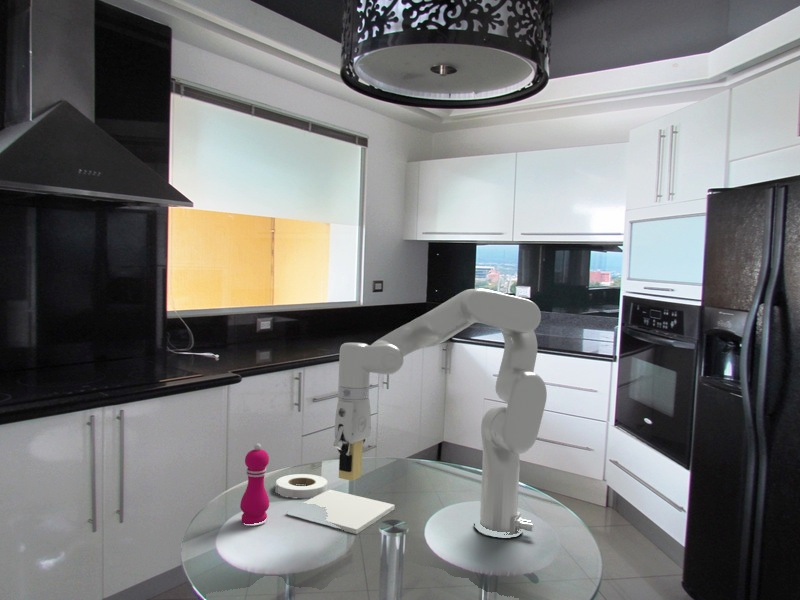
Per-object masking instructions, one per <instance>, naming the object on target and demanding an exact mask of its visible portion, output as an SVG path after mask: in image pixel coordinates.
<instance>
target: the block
mask: <svg viewBox="0 0 800 600" xmlns="http://www.w3.org/2000/svg"><path fill="white" fill-rule="evenodd" d="M344 441H346V440H345V439H344ZM344 445H345V446H346V448H347V444H344ZM362 447H363V440H361V441H359V442H356V443H353V444H352V446H351V453H350V455H352V469H351V472H346V471H341V470H339V469H338V479H343V480H345V481H351V482H353V481H355V480H357V479H359V478H361V477H362V469H363V467H362V466H363V450H362ZM338 458H340V456H339V457H338Z"/></svg>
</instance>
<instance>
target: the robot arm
mask: <svg viewBox="0 0 800 600" xmlns="http://www.w3.org/2000/svg"><path fill="white" fill-rule="evenodd" d="M541 313H542V312H541V310H540V308H539V306H538V305H537V304H536V303H535V302H533V301H532V300H530V299H528V298H523V297H519V296H515V295H510V294H506V293H502V292H499V291H494V290H491V289H486V288H470V289H465V290H463V291H461V292H459V293H457V294H456V295H455V296H452V297H451V298H449V299H448V300H446V301H444V302H443V303H441V304H439V305H437V306H436V307H434V308H433V309H431V310H430V311H428V312H426V313H424V314H422V315H420V316H418V317H416V318H415V319H413V320H411V321H410V322H407V323H405V324H403V325H401V326H400V327H398V328H395V329H394V330H392V331H390V332H388V333H387V334H385V335H384V336H382V337H380V338H378V339H377V340H376V341H374V342H373V343H371V344H368V343H364V342H344V343H343V344H341V345H340V348H339V363H338V385H337V386H338V387H337V404H336V412H335V421H334V443H333V446H334V448H336V450H337V451H338V454H339V457H340V458H339V457H338V458H339V461H338V465H339V466H338V471H339V470H341V471H346V472H351V469H352V455H350V453H351V446H352V444H353V443H356V442H359V441H361V440H363V447H362V451H363V450H364V448H365V446H364V443H365V442H366V439H367V438H369V437H370V436H371V433H372V431H371V430H372V425H371V424H372V419H371V418H372V417H371V415H372V414H371V412H372V411H371V403H370V402H371V401H370V398H369V397H370V374H371V373H373V374H379V375H393V374H395V373H398V371H400V370H401V368H402V367H403V365H404V357H405V356H407V355H410V354H411V353H414V352H416V351H418V350H420V349H424V348H429V347H434V346H437V345H440V344H442V343H445V342H446V341H447V340H449V339H450V338H453V337H454V336H455V335H457V334H458V333H460V332H462V331H463V330H465V329H467V328H469V327H470V326H471V325H473V324H475V323H478V324H479V323H480V324H483V325H487V326H491V327H494V328H498V329H499V331H500V332H501V334H502V336H503V341H504V348H503V354H502V358H501V361H500V362H501V363H500V367H499V371H498V373H497V377H496V382H495V392H496V395H497V396H498V398H499V399H501V400H502V401H503V402H505V403H506V404H507V405H506V406H494V407H492V408H489V409H488V410H487V411H486V412H485V414H484V415H483V417H482V420H481V425H480V426H481V427H480V431H481V432H480V433H481V442H482V467H481V468H482V469H481V486H480V487H481V489H480V490H481V491H480V510H479V512H480V513H479V514H480V515H479V517H480V524H481V525H482V526H483V527H485V528H486V529H489V530H492V531H497V532H506V533H507V532H510V533H509V534H508V533H507V534H508V535H513V534H517V533H519V532H518V531H519V530H520V529H523V531H527V532H532V533H533V531H534V523H532V521H531V520H529V519H524V518H523V517H521V515H522V514H521V512H520V511H518V505H519V488H520V487H519V486H520V485H519V484H520V465H521V464H520V463H521V462H520V461H521V460H520V455H521V454H525V453H527V452H528V451H530V450H531V448H533V447H534V445H535V443H536V441H537V438H538V435H539V431H540V428H541V424H542V420H543V419H542V418H543V415H544V411H545V407H546V403H547V397H548V396H547V393H548V392H547V386H546V383H545V381H544V379H543V378H542V377H541V376H540V375H539V374H537V373H535V372H534V371H535V366H536V361H537V356H538V340H537V336H536V333H535V330H536V329H537V328H538V327H539V326H540V323H541V320H542V314H541ZM344 439H345V440H346V441H344ZM344 444H347V448H346V446H345V445H344ZM517 530H518V531H517ZM520 531H521V530H520ZM507 534H506V535H507ZM504 535H505V534H504Z"/></svg>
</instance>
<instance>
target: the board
mask: <svg viewBox="0 0 800 600" xmlns="http://www.w3.org/2000/svg"><path fill="white" fill-rule="evenodd" d="M302 503H307V504H316V505H318V506H320V507H326V508H325V509H327V510H326V512H327V513H328V514H327V515H328V517H326V518H327V519H326V520H327V522H330V523H332V524H334V525H336V526H338V527H340V528H341V529H343V530H344V531H343V530H342V531H343V532H347V533H351V534H355V535H358V534H359V533H361V532H362V531H364V530H365V529H367V528H368V527H370V526H371V525H374V523H376V522H377V521H379V520H380V519H382V518H384V517H385V516H387V515H388V514H389V513H391V512H392V511H394V510H395V504H393V503H388V502H385V501H380V500H376V499H372V498H368V497H363V496H358V495H355V494H352V493H351V494H350V493H346V492H342V491H338V490H333V489H327V491H326V492H324V493H321V494H319V495H317V496H315V497H313V498H308V499H307V500H305V501H303V502H302ZM326 520H325V521H326Z"/></svg>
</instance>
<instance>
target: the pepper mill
mask: <svg viewBox="0 0 800 600" xmlns="http://www.w3.org/2000/svg"><path fill="white" fill-rule="evenodd" d="M253 448H254V449H251V450H250V451H248V452H247V454H246V455H245V458H244V464H245V466H246V467H247V468H246V473H245V474H246V476H247V486H246V488H245V492H244V493H243V495H242V496H241V500H240V507H239V508H240V510H241V511H242V514H241V520H240V521H241V524H242V523H245V524H254V523H259V522H262V521H264V520H265V519H266V518H267V517H268V513H267V510H269V507H270V499H269V494H268V492H267V490H266V488H265V476H266V475H267V466H268V464H269V463H270V456H269V454H268V451H266V450H264V449H262V445H261V444H260V443H256V444H254V446H253ZM267 519H268V518H267Z"/></svg>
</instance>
